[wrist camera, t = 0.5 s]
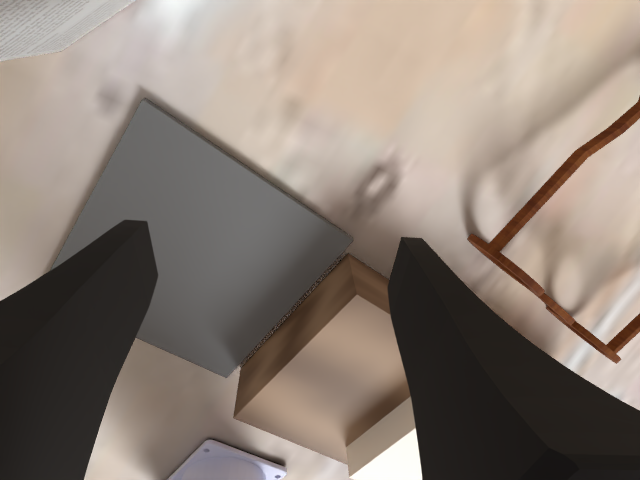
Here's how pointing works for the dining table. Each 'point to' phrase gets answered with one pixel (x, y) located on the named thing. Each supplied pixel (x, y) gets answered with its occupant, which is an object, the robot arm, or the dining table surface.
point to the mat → (207, 240)
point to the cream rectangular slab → (387, 448)
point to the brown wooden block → (327, 365)
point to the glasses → (528, 212)
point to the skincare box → (49, 24)
